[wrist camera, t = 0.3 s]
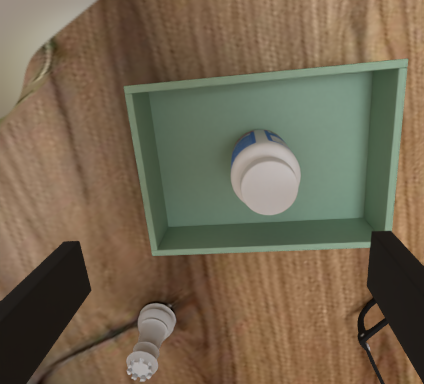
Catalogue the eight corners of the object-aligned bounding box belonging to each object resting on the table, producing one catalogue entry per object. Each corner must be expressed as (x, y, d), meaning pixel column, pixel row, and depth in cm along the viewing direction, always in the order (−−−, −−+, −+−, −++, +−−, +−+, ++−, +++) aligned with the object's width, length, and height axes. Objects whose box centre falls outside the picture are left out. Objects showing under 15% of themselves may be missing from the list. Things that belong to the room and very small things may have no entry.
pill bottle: (235, 185, 33) (232, 228, 24) (228, 132, 31) (223, 155, 22) (290, 179, 32) (309, 221, 23) (287, 124, 31) (306, 146, 21)
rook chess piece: (160, 336, 41) (142, 395, 33) (133, 314, 40) (108, 369, 33) (184, 317, 40) (171, 374, 32) (156, 294, 39) (136, 346, 31)
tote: (142, 84, 31) (122, 86, 26) (378, 61, 29) (408, 58, 24) (165, 230, 36) (152, 256, 31) (367, 220, 34) (390, 247, 28)
